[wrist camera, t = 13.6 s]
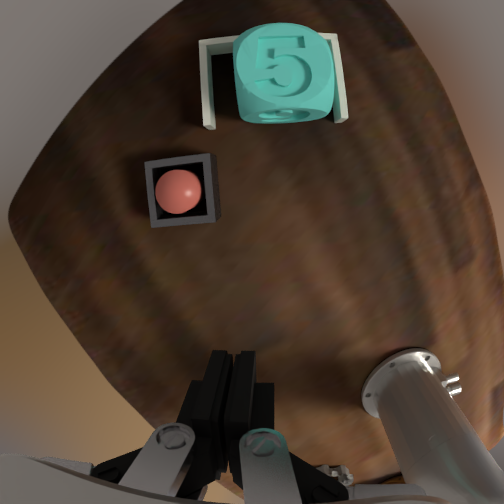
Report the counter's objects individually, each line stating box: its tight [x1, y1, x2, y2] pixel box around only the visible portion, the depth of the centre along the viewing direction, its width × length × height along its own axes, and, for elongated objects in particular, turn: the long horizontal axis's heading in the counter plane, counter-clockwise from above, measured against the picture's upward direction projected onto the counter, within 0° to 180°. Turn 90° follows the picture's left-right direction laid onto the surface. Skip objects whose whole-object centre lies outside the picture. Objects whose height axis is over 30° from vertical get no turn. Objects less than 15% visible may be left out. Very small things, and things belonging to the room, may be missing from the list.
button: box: [155, 170, 205, 214], centre depth 28 cm, size 4×4×4 cm
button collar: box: [145, 153, 221, 228], centre depth 29 cm, size 6×6×4 cm
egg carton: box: [316, 465, 353, 486], centre depth 42 cm, size 11×8×4 cm
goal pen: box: [199, 33, 348, 130], centre depth 27 cm, size 14×9×3 cm
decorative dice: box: [233, 23, 334, 123], centre depth 24 cm, size 8×8×8 cm
